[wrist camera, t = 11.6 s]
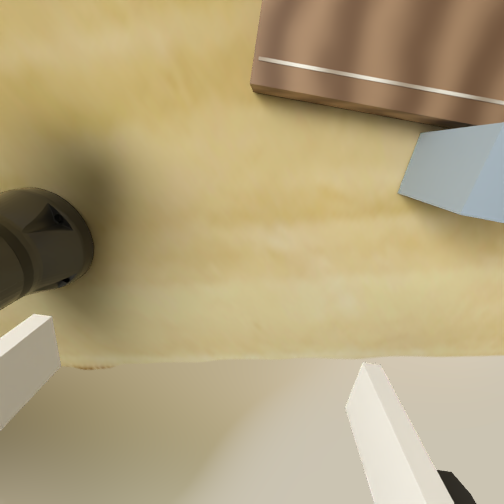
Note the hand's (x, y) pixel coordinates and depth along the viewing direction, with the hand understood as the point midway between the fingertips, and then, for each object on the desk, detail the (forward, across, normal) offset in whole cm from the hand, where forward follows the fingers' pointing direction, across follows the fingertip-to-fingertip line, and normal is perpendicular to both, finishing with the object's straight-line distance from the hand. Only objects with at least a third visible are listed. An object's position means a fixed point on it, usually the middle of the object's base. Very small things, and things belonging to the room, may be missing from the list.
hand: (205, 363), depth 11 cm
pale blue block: (+25, +22, +11) cm, 35 cm away
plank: (+26, +14, +20) cm, 36 cm away
